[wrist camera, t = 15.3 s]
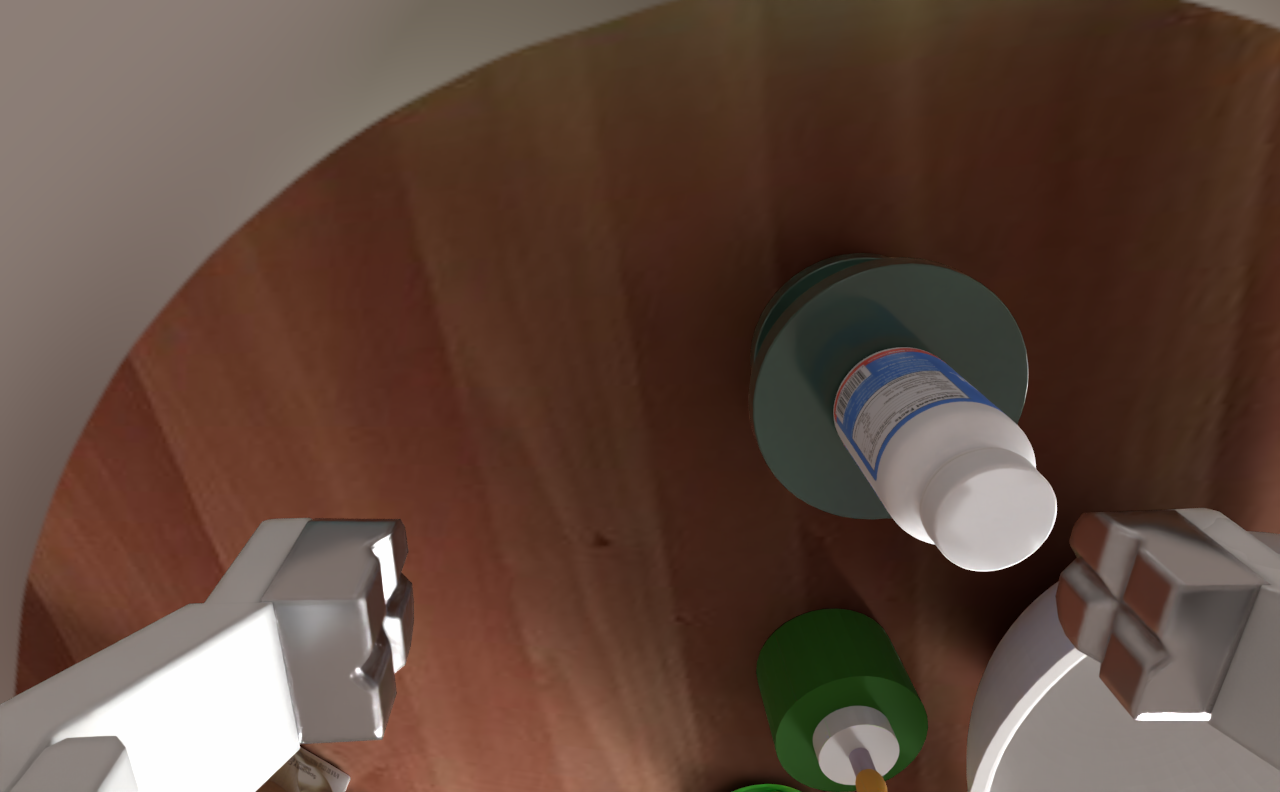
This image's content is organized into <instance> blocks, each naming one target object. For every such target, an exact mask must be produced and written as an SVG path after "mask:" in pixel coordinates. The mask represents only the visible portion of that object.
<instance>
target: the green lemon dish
mask: <svg viewBox="0 0 1280 792" xmlns="http://www.w3.org/2000/svg"><path fill="white" fill-rule="evenodd" d="M732 792H801V791H798V790H796V789H794V788H791V787H787V786H783V785H777V784H759V785H752V786H747V787H743V788H740V789H738V790H735V791H732Z"/></svg>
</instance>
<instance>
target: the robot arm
mask: <svg viewBox="0 0 1280 792" xmlns="http://www.w3.org/2000/svg"><path fill="white" fill-rule="evenodd" d="M1069 544H1070V545H1071V547H1072V549H1073V551H1074V553H1075V555H1076V557H1077V558H1076V559H1075V560H1074V561H1073V562H1072V563H1071V564H1070V565H1069V566H1068V567H1067V568H1066V569H1065V570H1063V571H1062V572H1061V574H1060V578H1059V583H1058V587H1057V592H1056V596H1055V597H1056V605H1057V613H1058V619H1059V621H1060V624H1061V626H1062V628H1063V631H1064V633H1065V635H1066V636H1067V638H1068V639H1069V640H1070V641H1071V643H1072V644H1073V645H1074V647H1075V648H1076V649H1077V650H1078V651H1080V652H1082V653H1083V654H1085V655H1087V656H1089V657H1091V658H1092V659H1094V660H1096V661H1098V662H1099V663H1101V664H1100V672H1099V678H1100V679H1101V680H1102V681H1103V683H1104V684H1105V685H1106V686H1107V688H1108V689H1109V690H1110V691H1111V692H1112V694H1113V695H1114V696H1115V697H1116V699H1117V700H1118V701H1119V702H1120V703H1121V705H1122V706H1123V707H1124V708H1125V710H1126V711H1127V712H1128V713H1129V714H1130V716H1131V717H1132V718H1133V719H1134V720H1208V724H1209V725H1211V726H1212V727H1214V728H1215V729H1217V730H1218V731H1220V732H1221V733H1223V734H1224V735H1226V736H1227V737H1229V738H1230V739H1232V740H1234V741H1235V742H1237V743H1238V744H1240V745H1241V746H1243V747H1244V748H1246V749H1247V750H1249V751H1250V752H1252V753H1253V754H1255V755H1256V756H1258V757H1259V758H1261V759H1262V760H1264V761H1265V762H1267V763H1268V764H1270V765H1271V766H1273V767H1274V768H1276V769H1277V770H1279V771H1280V555H1278V554H1277V553H1276V552H1274V551H1273V550H1271V549H1270V548H1269V547H1267V546H1266V545H1265V544H1263V543H1262V542H1260V541H1259V540H1258V539H1256V538H1255V537H1254V536H1252V535H1251V534H1249V533H1248V532H1247V531H1245V530H1244V529H1243V528H1241V527H1240V526H1238V525H1237V524H1236V523H1234V522H1233V521H1232V520H1230V519H1229V518H1227V517H1226V516H1225V515H1223V514H1222V513H1221V512H1219V511H1215V510H1211V509H1207V508H1189V509H1169V510H1149V511H1122V512H1095V513H1083V514H1082V515H1081V516H1080V518H1079V519H1078V520H1077V522H1076V523H1075V524H1074V527H1073V531H1072V534H1071V537H1070V541H1069ZM407 554H408V544H407V537H406V530H405V526H404V524H403V523H402V521H401V519H331V518H315V519H311V518H284V519H269V520H266V521H263V522H262V523H261V524H260V525H259V527H258V528H257V529H256V531H255V532H254V534H253V535H252V536H251V538H250V539H249V541H248V542H247V543H246V545H245V546H244V548H243V549H242V550H241V552H240V553H239V555H238V556H237V557H236V559H235V560H234V562H233V563H232V564H231V566H230V567H229V569H228V570H227V572H226V573H225V574H224V576H223V577H222V579H221V580H220V581H219V583H218V584H217V586H216V587H215V588H214V590H213V591H212V593H211V594H210V595H209V597H208V598H207V600H206V601H205V602H204V603H201V604H188V605H186V606H184V607H182V608H180V609H179V610H177V611H175V612H173V613H171V614H169V615H167V616H165V617H164V618H162V619H160V620H158V621H156V622H154V623H152V624H150V625H148V626H147V627H145V628H143V629H141V630H139V631H137V632H135V633H133V634H132V635H130V636H128V637H126V638H124V639H122V640H120V641H118V642H116V643H115V644H113V645H111V646H109V647H107V648H105V649H103V650H101V651H100V652H98V653H96V654H94V655H92V656H90V657H88V658H86V659H84V660H83V661H81V662H79V663H77V664H75V665H73V666H71V667H69V668H68V669H66V670H64V671H62V672H60V673H58V674H56V675H54V676H52V677H51V678H49V679H47V680H45V681H43V682H41V683H39V684H37V685H36V686H34V687H32V688H30V689H28V690H26V691H24V692H22V693H20V694H19V695H17V696H15V697H13V698H11V699H9V700H7V701H6V702H4V703H2V704H0V792H255V791H256V790H258V789H259V788H260V787H261V786H262V785H263V784H264V783H265V782H266V781H267V780H268V779H269V778H270V777H271V776H272V775H273V774H274V773H275V772H276V771H277V770H278V769H280V768H281V767H282V766H283V765H284V764H285V763H286V762H287V761H288V760H289V759H290V758H291V757H292V756H293V755H294V754H295V753H296V752H297V751H298V750H299V749H300V744H312V743H330V742H349V741H367V740H382V739H383V735H384V732H385V729H386V726H387V723H388V719H389V716H390V713H391V710H392V707H393V703H394V700H395V697H396V694H397V692H396V683H395V675H394V673H395V672H396V671H398V670H399V669H400V668H401V667H403V666H404V665H405V664H406V661H407V657H408V654H409V650H410V647H411V640H412V632H413V624H414V598H413V588H412V583H411V582H410V581H409V580H408V579H407V578H406V577H405V576H404V575H403V574H402V572H401V571H402V568H403V566H404V563H405V560H406V557H407Z"/></svg>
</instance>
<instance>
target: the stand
mask: <svg viewBox="0 0 1280 792" xmlns="http://www.w3.org/2000/svg"><path fill="white" fill-rule="evenodd" d="M897 347H910V348H917V349H921V350H924V351H927V352H929V353H931V354H933V355H935V356H936V357H938V358H939V359H941V360H942V361H944V362H945V363H946V364H947V365H949V366H950V367H951V368H952V369H953V370H954V371H955V372H957V373H958V374H959V375H960V376H961V377H962V378H964V379H965V380H966V381H967V382H968V383H969V384H971V385H972V386H973V387H974V388H975V389H977V390H978V391H979V392H980V393H981V394H982V395H984V396H985V397H986V398H987V399H988V400H989V401H990V402H992V403H993V404H994V405H995V406H996V407H997V408H999V409H1000V410H1001V411H1002V412H1003V413H1005V414H1006V415H1007V416H1008V417H1009V418H1010V419H1011V420H1012V421H1013V422H1015V423H1016V424H1018V421H1019V419H1020V417H1021V414H1022V410H1023V407H1024V404H1025V400H1026V394H1027V388H1028V369H1029V367H1028V359H1027V351H1026V347H1025V343H1024V340H1023V336H1022V333H1021V331H1020V329H1019V327H1018V325H1017V323H1016V320H1015V319H1014V317H1013V316H1012V314H1011V313H1010V311H1009V310H1008V308H1007V307H1006V305H1005V304H1004V303H1003V302H1002V301H1001V300H1000V299H999V298H998V297H997V296H996V295H995V294H994V293H993V292H992V291H991V290H989V289H988V288H987V287H985V286H984V285H983V284H981V283H980V282H978V281H977V280H975V279H973V278H972V277H970V276H968V275H966V274H965V273H963V272H961V271H959V270H957V269H955V268H953V267H950V266H948V265H945V264H942V263H939V262H935V261H930V260H926V259H921V258H907V257H898V258H891V257H888V256H883V255H879V254H870V253H853V254H845V255H839V256H834V257H831V258H828V259H825V260H822V261H820V262H818V263H815V264H813V265H811V266H809V267H807V268H806V269H804V270H803V271H801V272H799V273H798V274H796V275H795V276H794V277H793V278H791V279H790V280H789V281H787V282H786V283H785V284H784V285H783V286H782V287H781V288H780V289H779V290H778V291H777V292H776V294H775V295H774V296H773V297H772V299H771V300H770V301H769V303H768V304H767V306H766V307H765V309H764V311H763V313H762V314H761V316H760V319H759V321H758V323H757V325H756V328H755V332H754V335H753V339H752V345H751V351H750V366H751V378H750V385H749V398H748V408H749V416H750V423H751V427H752V430H753V434H754V437H755V440H756V442H757V445H758V447H759V449H760V451H761V454H762V456H763V458H764V460H765V462H766V464H767V465H768V467H769V468H770V470H771V471H772V473H773V474H774V476H775V477H776V478H777V479H778V480H779V481H780V483H781V484H782V485H783V486H784V487H785V488H786V489H788V490H789V491H790V492H791V493H792V494H794V495H795V496H796V497H797V498H799V499H801V500H802V501H804V502H806V503H807V504H809V505H811V506H813V507H815V508H818V509H820V510H822V511H824V512H828V513H831V514H834V515H838V516H842V517H848V518H854V519H887V518H892V517H891V515H890V514H889V513H888V511H887V510H886V508H885V507H884V505H883V503H882V502H881V500H880V499H879V497H878V496H877V494H876V492H875V491H874V489H873V488H872V486H871V485H870V483H869V482H868V480H867V479H866V477H865V476H864V474H863V473H862V471H861V470H860V468H859V467H858V465H857V464H856V462H855V461H854V459H853V458H852V456H851V455H850V453H849V452H848V450H847V449H846V447H845V446H844V444H843V442H842V440H841V438H840V437H839V435H838V432H837V430H836V427H835V423H834V415H833V408H834V402H835V398H836V394H837V392H838V389H839V387H840V385H841V383H842V381H843V380H844V378H845V377H846V375H847V374H848V373H849V372H850V371H851V369H852V368H853V367H854V366H855V365H857V364H858V363H859V362H860V361H862V360H863V359H865V358H866V357H868V356H870V355H872V354H874V353H876V352H879V351H882V350H885V349H890V348H897Z"/></svg>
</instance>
